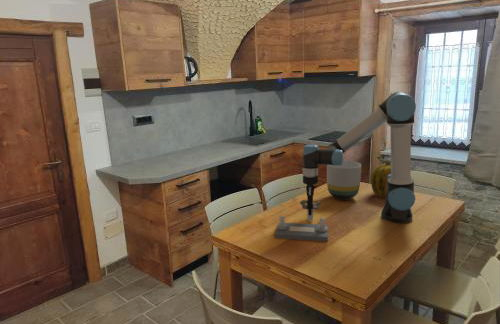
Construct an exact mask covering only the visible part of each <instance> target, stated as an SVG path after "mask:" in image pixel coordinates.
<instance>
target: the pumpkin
mask: <svg viewBox="0 0 500 324" xmlns="http://www.w3.org/2000/svg"><path fill="white" fill-rule="evenodd" d="M381 157H382V156H381V155H379V154H378V155H377V157H376V159H377V160H379V161H380V162H382V164H378V165H377V166H375V168H374V169H373V170H372V172H371V176H370V185H371V189H372V191H373V193H374V194H375V195H376V196H377V197H380V198H384V199H386V186H387V176H388V175H389V174H391V162H390V161H388V160H387V159H385V158H381Z"/></svg>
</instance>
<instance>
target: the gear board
mask: <svg viewBox="0 0 500 324" xmlns="http://www.w3.org/2000/svg"><path fill="white" fill-rule="evenodd" d="M285 219H286V218H285V216H284V215H280V216H279V222H278V224H277V225H276V230H275V232H274V238H275V239H283V240H284V239H286V240H299V241H300V240H301V241H315V242H316V241H319V242H328V241H329V240H328V239H329V235H328V231H329V229H328V228H329V227H328V224H326V218H325V217H320V218H319V224H316V223H299V222H297V223H295V222H285Z"/></svg>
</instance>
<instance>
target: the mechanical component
mask: <svg viewBox="0 0 500 324" xmlns="http://www.w3.org/2000/svg"><path fill="white" fill-rule="evenodd" d="M321 204H322V203H321V201H317V203H315V202H313V210H318V209H319V208H320V206H321ZM299 205H301V208H302V209H303V210H307V209H306V207H307V199H306V200H305V199H303V200H301V201H300V203H299Z"/></svg>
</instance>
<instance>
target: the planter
mask: <svg viewBox="0 0 500 324" xmlns="http://www.w3.org/2000/svg"><path fill="white" fill-rule="evenodd" d="M361 175H362V164H361V162H357V161H354V160H348V159H347V160H346V159H343V163H342V165H326V186H327V190H328V193H329V194H330V196H332V197H333V198H335V200H339V201H348V200H351V199H353V198H355V197H356V196H357V195H358V194H359V193H358V192H359V190H360V188H361V187H360V186H361V178H362V176H361Z"/></svg>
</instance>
